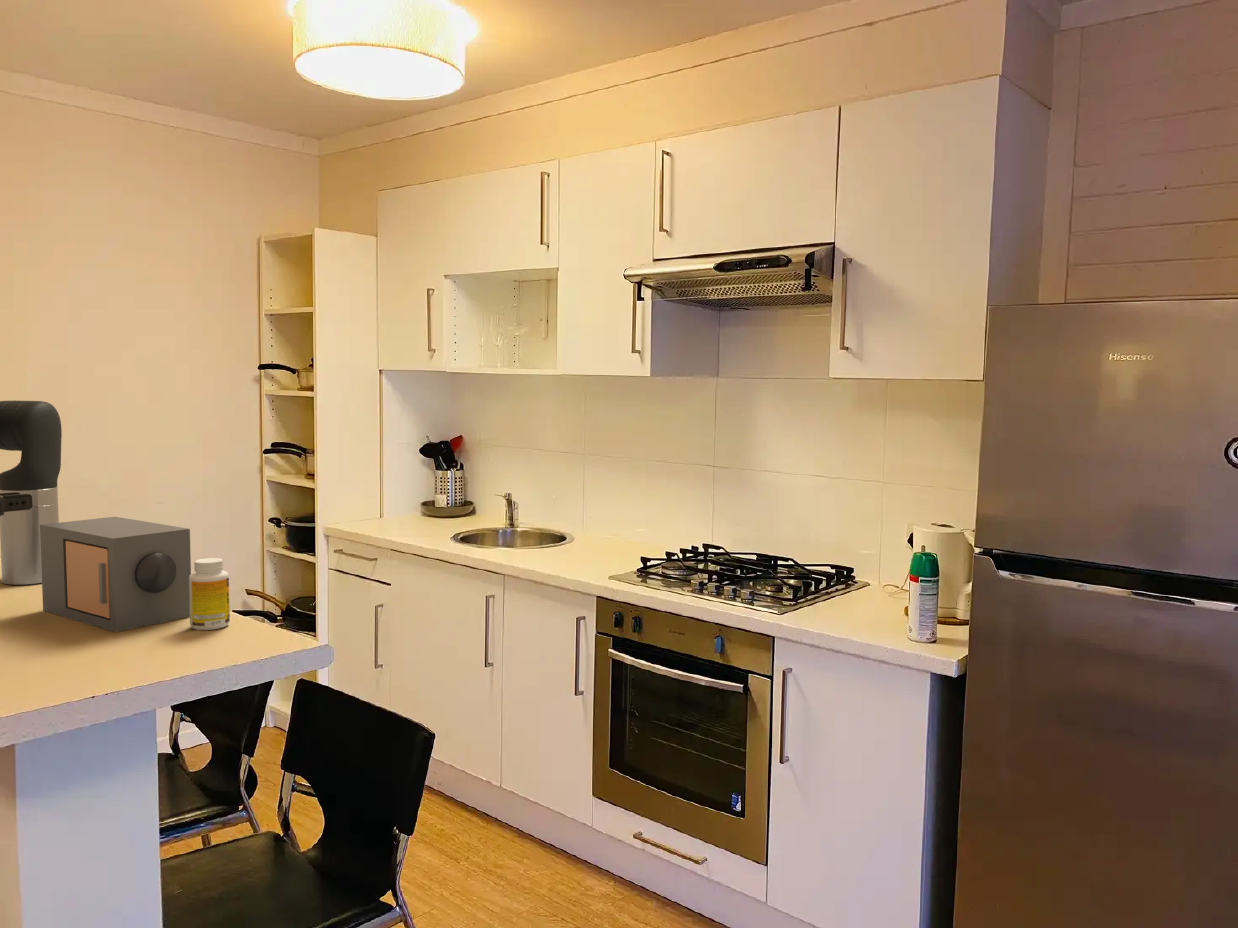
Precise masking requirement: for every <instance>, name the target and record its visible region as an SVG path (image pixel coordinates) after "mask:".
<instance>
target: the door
mask: <svg viewBox="0 0 1238 928" xmlns="http://www.w3.org/2000/svg"><path fill="white" fill-rule="evenodd" d="M66 568H67V597H68V607H70V608H74V609H77V610H81V611H85V612H88V613H92V614H95V615H99V616H103V617H106V618H110V590H109V558H108V547H103V546H98V545H93V544H88V543H83V542H78V541H73V540H69V541H66Z"/></svg>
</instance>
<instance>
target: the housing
mask: <svg viewBox="0 0 1238 928" xmlns="http://www.w3.org/2000/svg"><path fill="white" fill-rule="evenodd" d="M69 540H73V541H78V542H83V543H88V544H93V545H98V546H103V547H108V558H109V590H110V618H106V617H103V616H99V615H95V614H92V613H88V612H85V611H81V610H77V609H74V608H70V607H68V597H67V568H66V541H69ZM40 541H41V568H42V583H41V586H42V587H41V589H42V591H41V592H42V593H41V594H42V611H43V612H45V613H50V614H54V615H56V616H59V617H64V618H67V619H69V620H70V619H71V620H73V621H77V622H81V623H83V624H87V625H90V626H95V627H97V628H101V629H103V630H108V631H111V632H115V633H119V632H122V631H127V630H133V629H138V628H141V627H147V626H151V625H157V624H161V623H165V622H170V621H175V620H180V619H186V618H190V605H189V576H190V575H191V574H192V569H191V568H192V565H191V564H192V562H191V559H192V558H191V557H192V556H191V528H187V527H181V526H175V525H170V524H169V525H168V524H162V523H157V522H149V521H146V520H145V521H144V520H139V519H134V518H133V519H131V518H126V517H120V516H109V517H108V516H107V517H99V518H90V519H82V520H81V519H80V520H72V521H71V520H70V521H61V522H59V523H51V524H42V525H40Z"/></svg>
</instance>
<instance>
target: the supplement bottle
mask: <svg viewBox="0 0 1238 928" xmlns="http://www.w3.org/2000/svg"><path fill="white" fill-rule="evenodd" d="M193 564H194V567H193V568H194V572H193V573H192V572H191V575H190V576H189V605H190V617H189V625H190V627H191V628H192V629H193V630H197V631H213V630H219V629H223V628H225V627H227V626H228V625H229V624H230V616H231V615H230V613H231V612H230V575H229V573H228V571H225V570H224V560H223V559H222V558H217V557H208V558H201V559H196V560H194V563H193Z"/></svg>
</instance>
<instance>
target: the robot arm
mask: <svg viewBox="0 0 1238 928" xmlns="http://www.w3.org/2000/svg"><path fill="white" fill-rule="evenodd" d="M62 435H63V434H62V421H61V417H60V414H59V412H58V410H57V409H56V407H55V406H54V405H53V404H52V403H49V402H47V401H43V400H0V450H3V451H9V452H10V451H12V452H13V451H15V452H18V451H19V452H21V453H20V460H19V463H18V464H17V465H16V466H14V467H12V468H11V469H7V470H5V471H2V472H0V564H1V565H0V566H1V583H3V584H5V585H14V586H15V585H34V584H42V568H41V541H40V525H42V524H51V523H60V520H59V519H60V518H59V497H58V495H59V494H58V493H59V491H58V478H59V475H60V472H61V469H62V438H63V437H62Z"/></svg>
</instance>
